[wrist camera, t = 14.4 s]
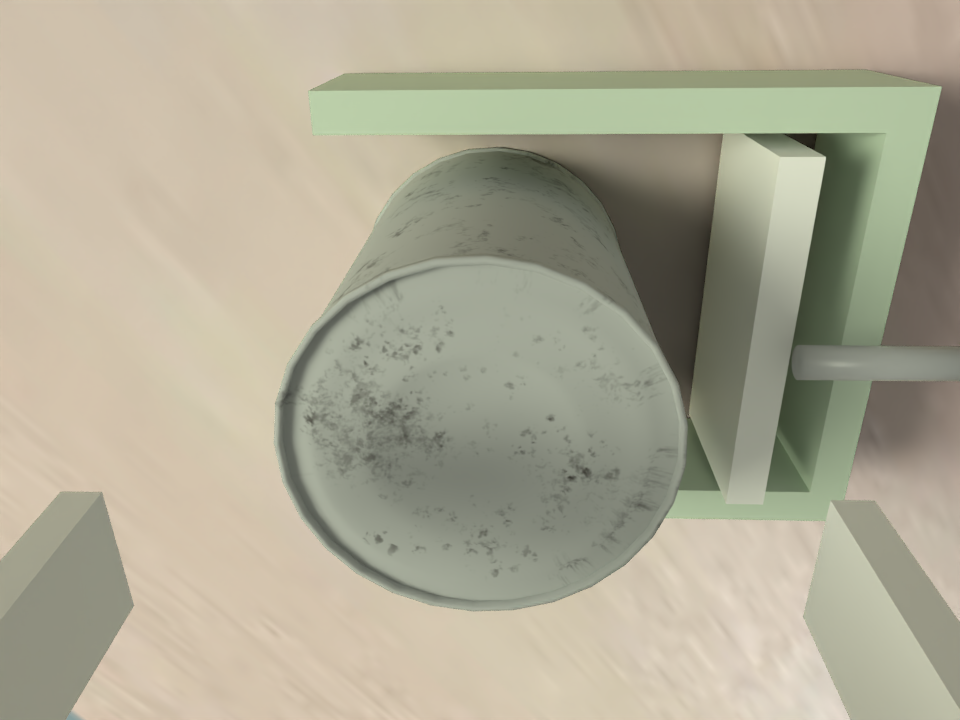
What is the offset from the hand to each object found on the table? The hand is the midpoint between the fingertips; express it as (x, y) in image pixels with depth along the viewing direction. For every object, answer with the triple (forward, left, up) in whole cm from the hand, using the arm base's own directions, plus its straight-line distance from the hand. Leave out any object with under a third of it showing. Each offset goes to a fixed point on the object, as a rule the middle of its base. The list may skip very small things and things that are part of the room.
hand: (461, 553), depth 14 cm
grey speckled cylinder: (0, 0, -16) cm, 16 cm away
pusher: (+12, 0, -16) cm, 20 cm away
